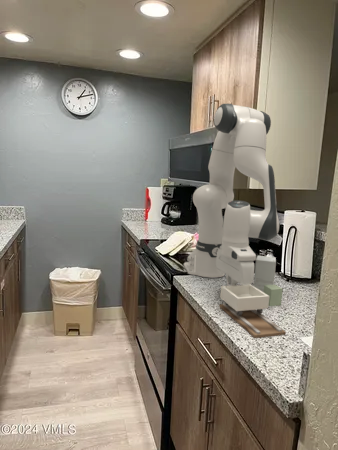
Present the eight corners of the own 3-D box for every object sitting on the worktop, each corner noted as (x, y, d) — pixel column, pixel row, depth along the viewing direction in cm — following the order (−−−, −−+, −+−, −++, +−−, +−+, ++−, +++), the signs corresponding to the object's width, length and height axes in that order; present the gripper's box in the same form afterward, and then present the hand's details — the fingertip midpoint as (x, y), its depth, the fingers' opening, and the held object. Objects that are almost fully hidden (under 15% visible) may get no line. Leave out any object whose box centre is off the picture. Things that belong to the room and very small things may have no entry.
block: (262, 301, 123) (264, 285, 122) (273, 300, 125) (275, 284, 124) (269, 306, 119) (271, 289, 118) (280, 305, 120) (282, 288, 119)
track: (219, 306, 116) (219, 302, 116) (245, 304, 119) (246, 300, 119) (254, 338, 96) (255, 333, 95) (285, 334, 99) (286, 330, 98)
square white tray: (219, 303, 115) (221, 286, 114) (249, 301, 118) (250, 284, 117) (235, 317, 104) (237, 298, 103) (267, 314, 108) (269, 296, 107)
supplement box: (273, 288, 138) (276, 257, 136) (272, 294, 131) (276, 261, 129) (254, 285, 140) (257, 254, 138) (252, 291, 133) (255, 259, 131)
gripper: (212, 242, 125) (210, 279, 128) (241, 257, 106) (237, 300, 108) (228, 242, 127) (225, 278, 130) (259, 256, 108) (255, 299, 110)
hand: (231, 288), depth 119 cm, fingers closed
